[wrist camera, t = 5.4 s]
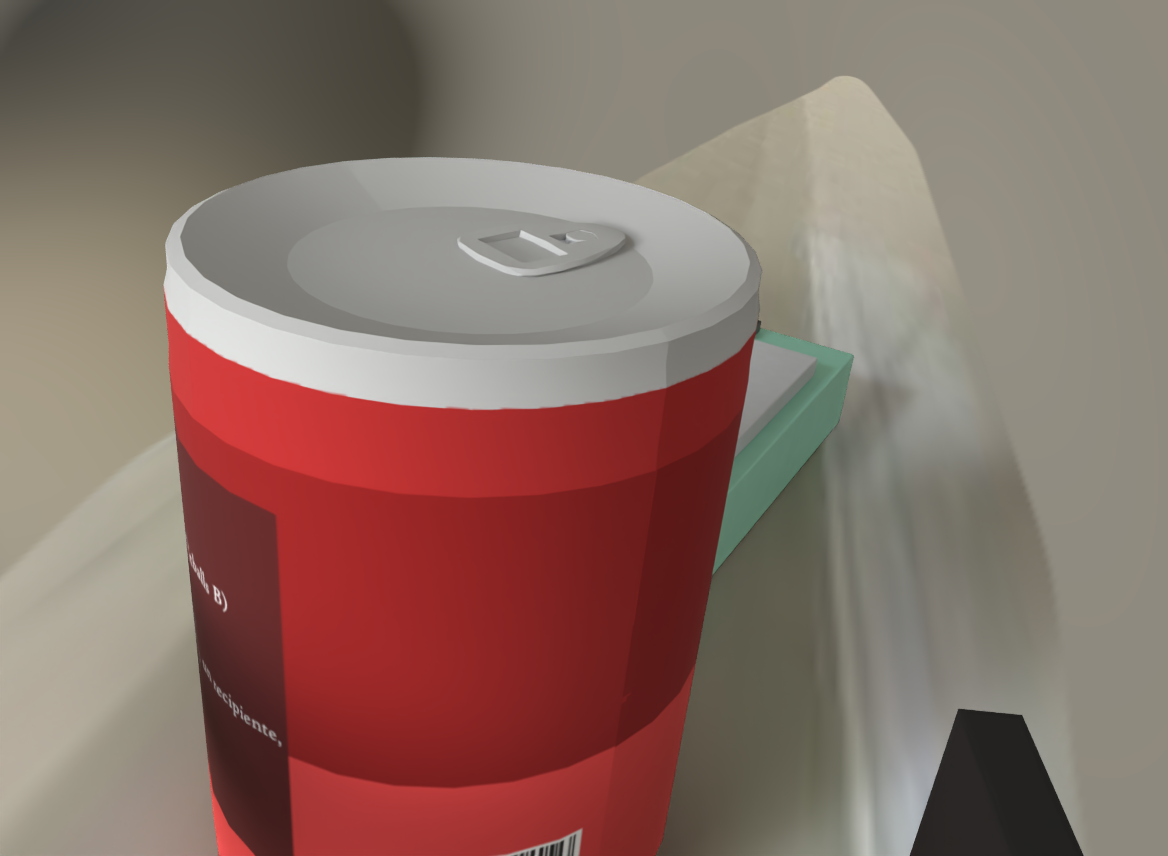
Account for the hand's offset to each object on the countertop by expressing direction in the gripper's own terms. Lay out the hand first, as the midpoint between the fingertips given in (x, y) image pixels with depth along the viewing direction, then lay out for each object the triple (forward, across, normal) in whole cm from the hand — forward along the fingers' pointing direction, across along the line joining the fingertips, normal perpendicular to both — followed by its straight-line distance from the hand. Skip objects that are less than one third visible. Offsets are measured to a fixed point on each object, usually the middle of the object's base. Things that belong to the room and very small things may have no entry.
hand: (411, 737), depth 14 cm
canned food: (+4, 0, -6) cm, 7 cm away
